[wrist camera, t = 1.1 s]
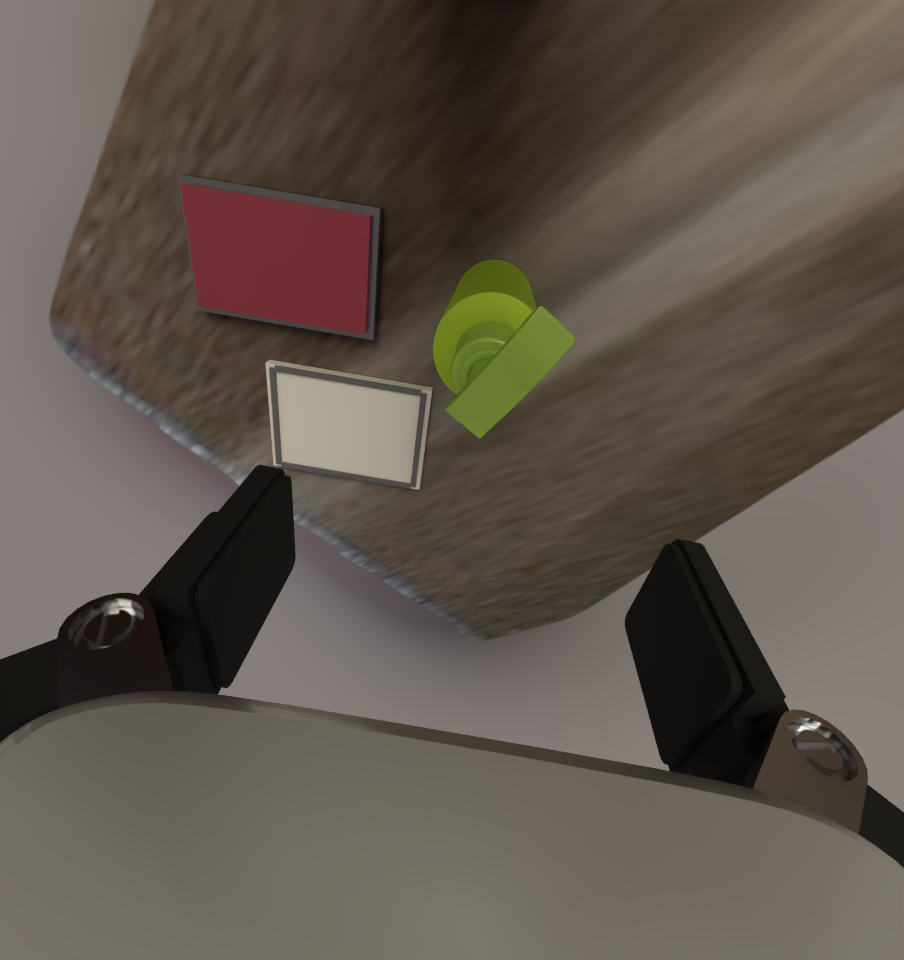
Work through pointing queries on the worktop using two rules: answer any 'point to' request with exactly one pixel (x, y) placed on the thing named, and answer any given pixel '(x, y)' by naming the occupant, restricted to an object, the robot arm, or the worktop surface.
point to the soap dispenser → (494, 344)
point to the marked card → (347, 424)
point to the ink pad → (283, 256)
